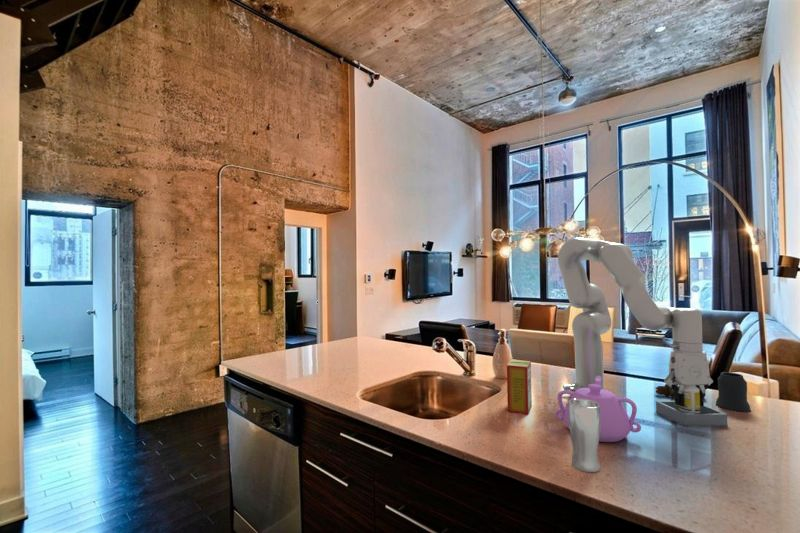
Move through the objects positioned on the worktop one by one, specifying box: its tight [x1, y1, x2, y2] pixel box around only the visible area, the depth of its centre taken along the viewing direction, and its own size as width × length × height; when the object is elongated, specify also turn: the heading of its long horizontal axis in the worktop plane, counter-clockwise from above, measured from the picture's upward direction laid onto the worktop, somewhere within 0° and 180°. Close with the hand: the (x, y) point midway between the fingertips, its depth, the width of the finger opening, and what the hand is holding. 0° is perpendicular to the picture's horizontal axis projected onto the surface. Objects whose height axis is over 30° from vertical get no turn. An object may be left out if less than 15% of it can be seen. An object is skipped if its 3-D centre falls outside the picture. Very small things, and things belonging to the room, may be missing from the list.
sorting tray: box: [655, 400, 728, 428], centre depth 119 cm, size 13×13×4 cm
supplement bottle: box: [678, 385, 700, 413], centre depth 119 cm, size 5×5×10 cm
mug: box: [715, 371, 752, 413], centre depth 130 cm, size 12×9×11 cm
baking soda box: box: [506, 359, 533, 416], centre depth 129 cm, size 10×6×16 cm
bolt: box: [654, 383, 706, 398], centre depth 140 cm, size 6×5×15 cm
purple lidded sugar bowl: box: [554, 376, 642, 443], centre depth 111 cm, size 22×22×14 cm
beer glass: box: [568, 399, 601, 474], centre depth 90 cm, size 7×7×15 cm
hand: (689, 404), depth 119 cm, fingers closed on supplement bottle, 5 cm apart
